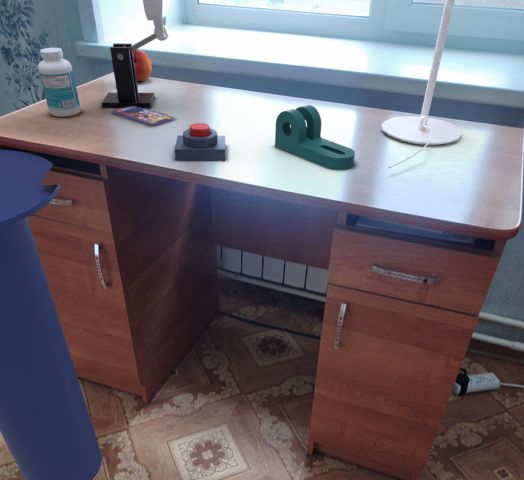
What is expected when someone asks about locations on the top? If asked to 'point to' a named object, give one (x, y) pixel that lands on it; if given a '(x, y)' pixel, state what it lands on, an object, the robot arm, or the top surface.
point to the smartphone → (143, 115)
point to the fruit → (142, 65)
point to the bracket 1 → (125, 81)
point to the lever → (148, 39)
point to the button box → (200, 147)
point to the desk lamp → (426, 106)
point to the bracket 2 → (310, 139)
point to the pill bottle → (58, 83)
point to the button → (199, 130)
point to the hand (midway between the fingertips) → (161, 36)
